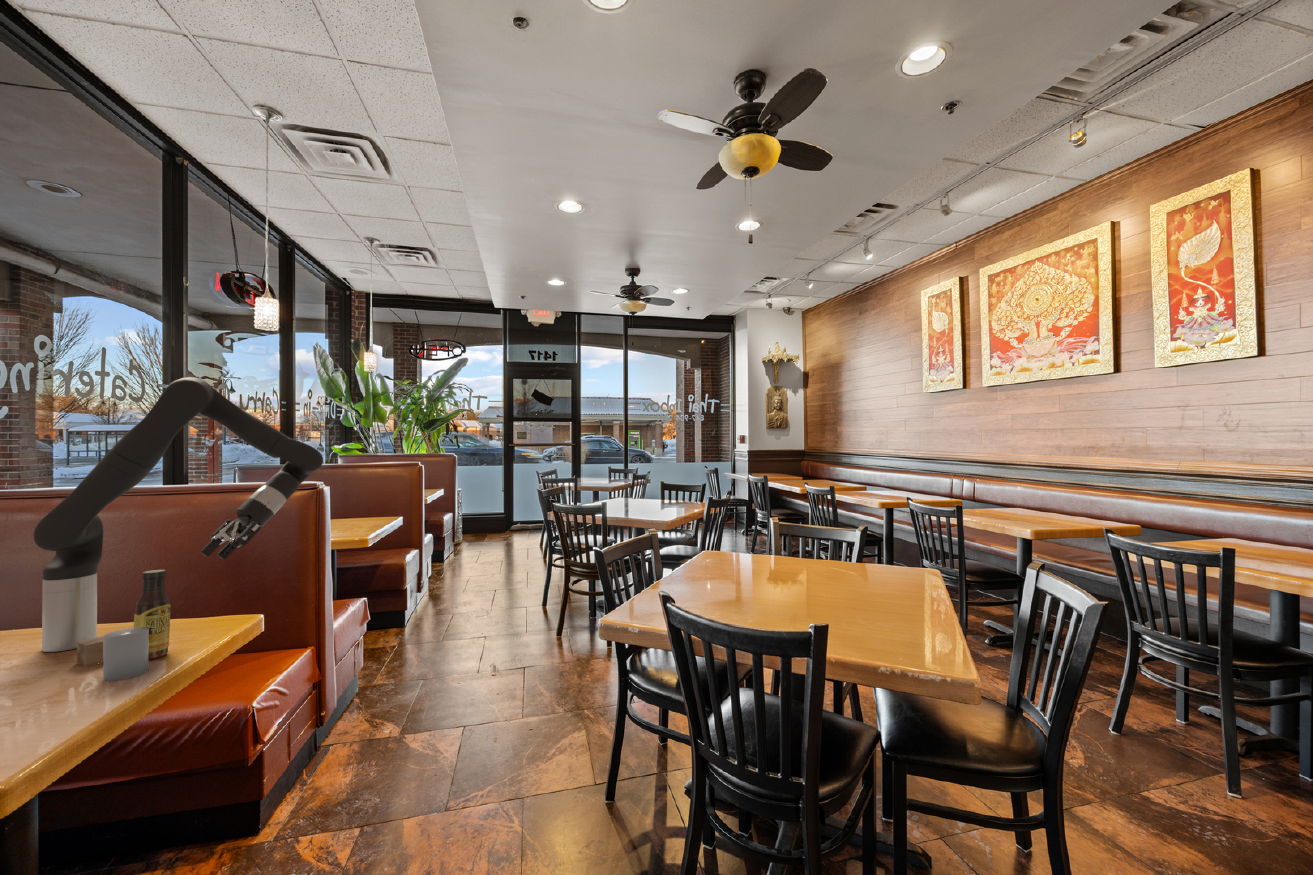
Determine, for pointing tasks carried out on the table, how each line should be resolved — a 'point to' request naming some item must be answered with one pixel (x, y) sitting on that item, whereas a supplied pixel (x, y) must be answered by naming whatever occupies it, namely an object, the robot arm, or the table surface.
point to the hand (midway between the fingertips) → (211, 555)
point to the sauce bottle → (154, 612)
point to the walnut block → (90, 651)
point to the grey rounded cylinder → (125, 654)
